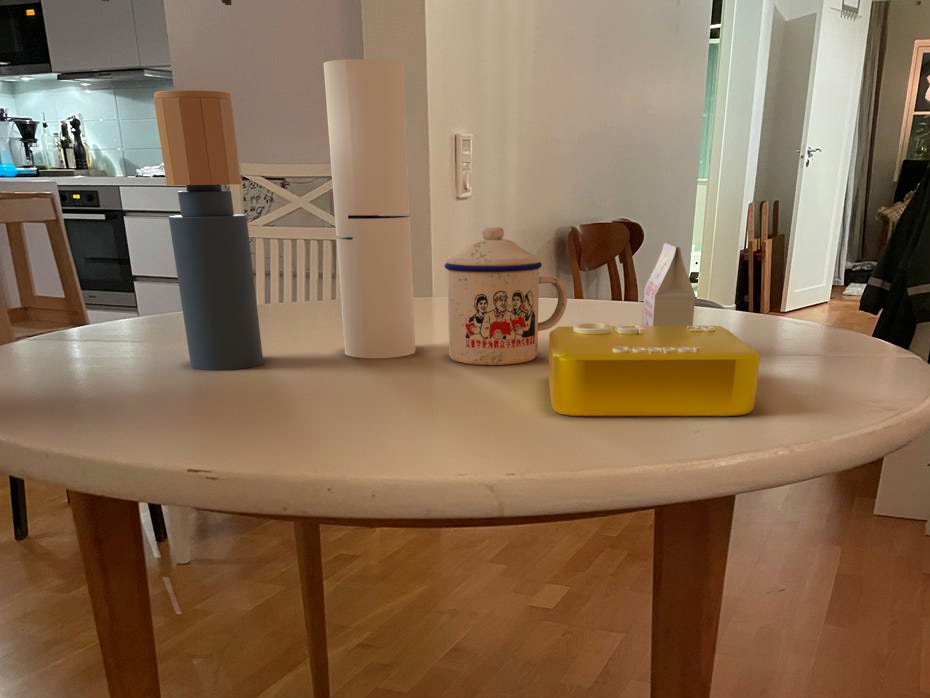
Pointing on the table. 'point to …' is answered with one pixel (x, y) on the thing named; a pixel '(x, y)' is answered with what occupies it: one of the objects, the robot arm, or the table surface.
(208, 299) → the water bottle
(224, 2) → the robot arm
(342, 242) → the cylindrical container
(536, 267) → the teacup with lid
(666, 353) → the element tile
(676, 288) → the milk carton
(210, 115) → the light wood cylinder
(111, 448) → the table surface
